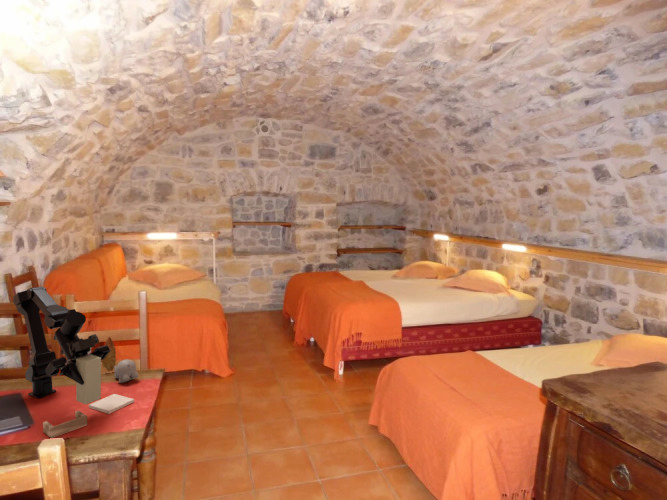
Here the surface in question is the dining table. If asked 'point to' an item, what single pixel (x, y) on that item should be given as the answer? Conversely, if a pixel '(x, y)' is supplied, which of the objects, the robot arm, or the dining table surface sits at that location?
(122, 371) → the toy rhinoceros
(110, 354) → the stone tool
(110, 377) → the dining table surface
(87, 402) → the sage block
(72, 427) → the birch stall
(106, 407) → the ceramic tile
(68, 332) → the robot arm
